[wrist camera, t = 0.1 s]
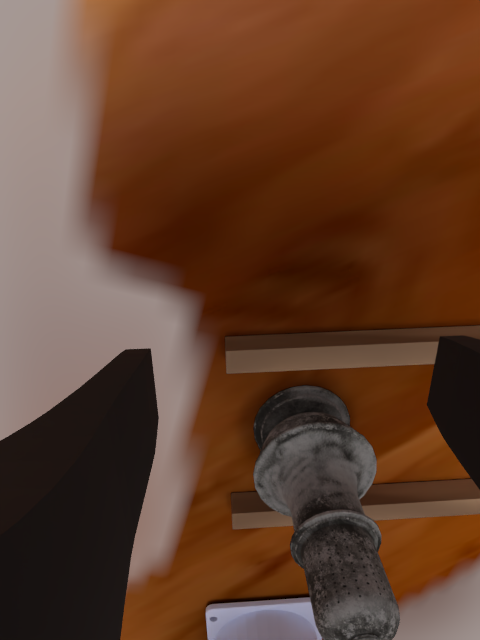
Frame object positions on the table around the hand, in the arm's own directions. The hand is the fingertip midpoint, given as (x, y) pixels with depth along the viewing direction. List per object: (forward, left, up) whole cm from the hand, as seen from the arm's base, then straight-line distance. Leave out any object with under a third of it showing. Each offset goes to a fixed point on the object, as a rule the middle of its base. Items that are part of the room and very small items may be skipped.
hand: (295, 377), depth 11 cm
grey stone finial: (-9, -2, -10) cm, 14 cm away
